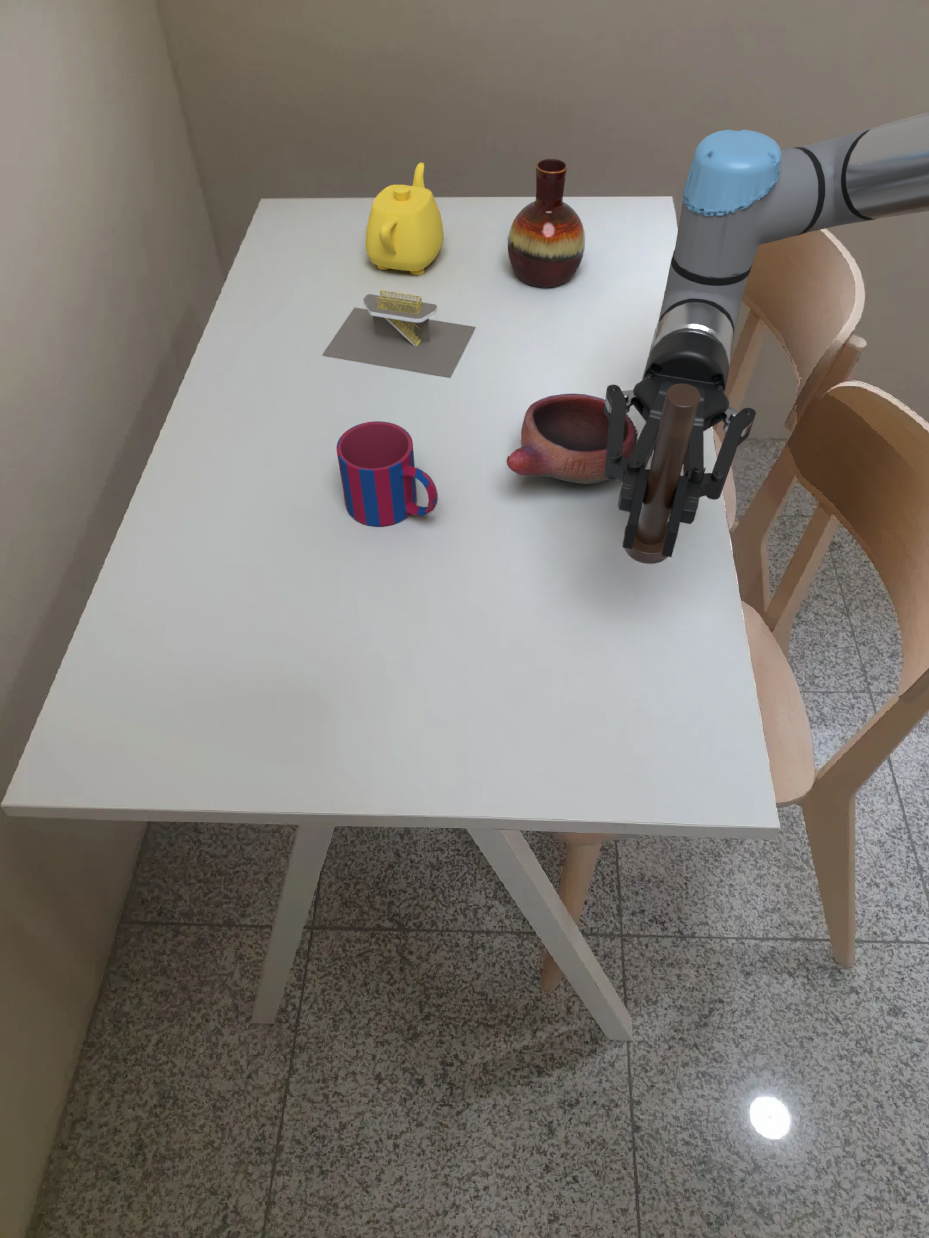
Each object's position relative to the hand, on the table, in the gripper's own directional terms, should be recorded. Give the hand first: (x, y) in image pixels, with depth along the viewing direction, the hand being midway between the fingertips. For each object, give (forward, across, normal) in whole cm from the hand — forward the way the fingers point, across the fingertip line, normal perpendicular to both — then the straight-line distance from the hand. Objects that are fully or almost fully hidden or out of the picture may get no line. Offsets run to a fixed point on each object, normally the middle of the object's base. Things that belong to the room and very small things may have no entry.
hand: (649, 540), depth 65 cm
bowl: (-26, +10, -19) cm, 34 cm away
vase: (-68, +23, -19) cm, 75 cm away
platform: (-46, +38, -19) cm, 63 cm away
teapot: (-67, +44, -19) cm, 83 cm away
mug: (-15, +28, -19) cm, 37 cm away
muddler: (-6, 0, -7) cm, 9 cm away
